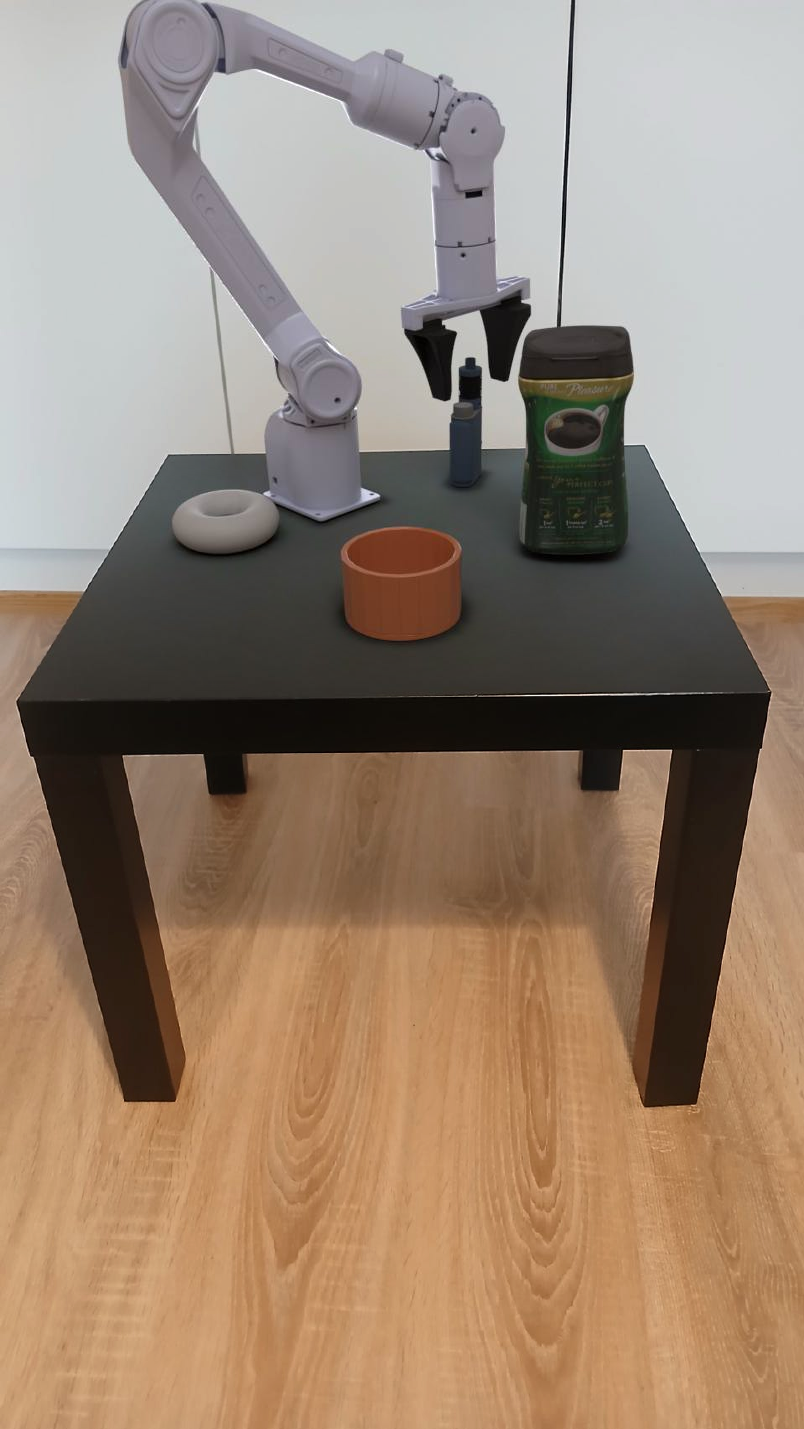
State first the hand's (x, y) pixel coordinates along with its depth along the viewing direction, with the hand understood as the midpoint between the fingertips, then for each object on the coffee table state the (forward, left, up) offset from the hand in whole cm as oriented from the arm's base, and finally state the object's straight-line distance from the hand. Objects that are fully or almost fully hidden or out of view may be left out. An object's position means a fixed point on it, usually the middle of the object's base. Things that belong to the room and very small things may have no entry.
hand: (471, 389), depth 105 cm
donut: (-7, -26, -10) cm, 28 cm away
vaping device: (-1, 0, -10) cm, 10 cm away
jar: (+16, -25, -10) cm, 31 cm away
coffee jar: (+18, -6, -9) cm, 21 cm away
